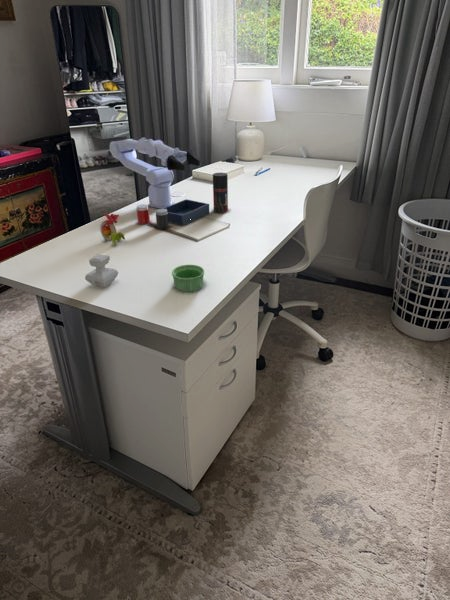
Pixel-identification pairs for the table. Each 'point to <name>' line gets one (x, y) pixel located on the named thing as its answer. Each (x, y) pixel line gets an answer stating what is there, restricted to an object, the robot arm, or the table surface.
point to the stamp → (101, 271)
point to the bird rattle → (110, 229)
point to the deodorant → (220, 192)
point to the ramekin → (188, 277)
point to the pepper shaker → (162, 219)
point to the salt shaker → (143, 214)
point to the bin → (186, 211)
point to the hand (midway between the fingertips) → (191, 165)
